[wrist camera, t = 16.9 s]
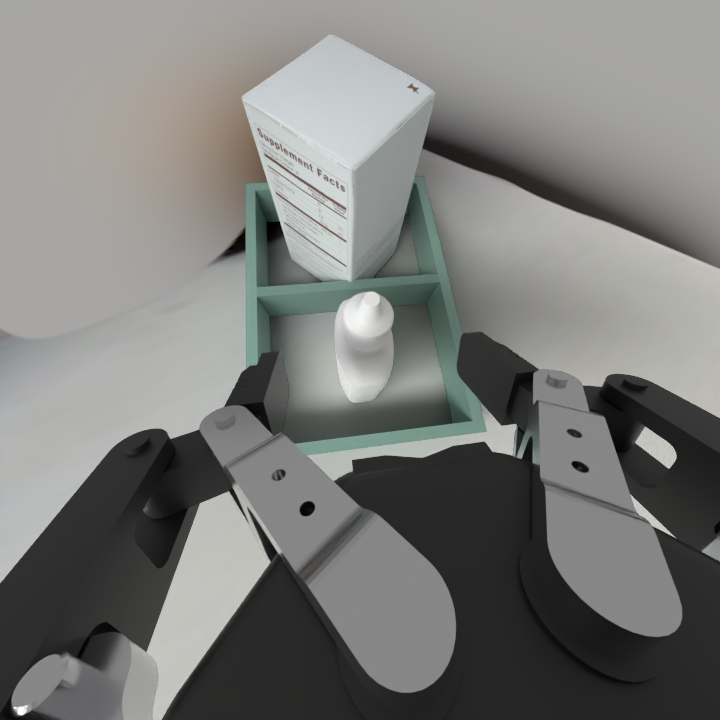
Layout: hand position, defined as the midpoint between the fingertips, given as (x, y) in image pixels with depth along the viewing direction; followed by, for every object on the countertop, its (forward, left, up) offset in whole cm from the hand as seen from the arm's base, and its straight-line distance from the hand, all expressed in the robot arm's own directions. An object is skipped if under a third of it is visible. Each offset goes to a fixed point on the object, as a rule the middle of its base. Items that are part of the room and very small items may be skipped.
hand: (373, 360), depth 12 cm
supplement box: (0, +13, -10) cm, 17 cm away
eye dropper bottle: (0, +2, -11) cm, 11 cm away
